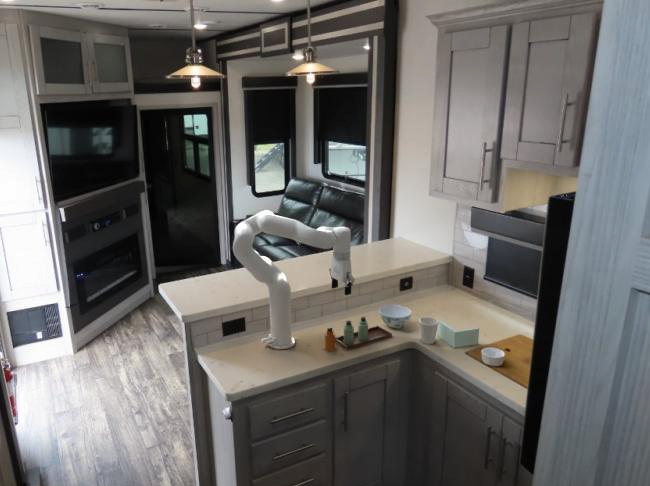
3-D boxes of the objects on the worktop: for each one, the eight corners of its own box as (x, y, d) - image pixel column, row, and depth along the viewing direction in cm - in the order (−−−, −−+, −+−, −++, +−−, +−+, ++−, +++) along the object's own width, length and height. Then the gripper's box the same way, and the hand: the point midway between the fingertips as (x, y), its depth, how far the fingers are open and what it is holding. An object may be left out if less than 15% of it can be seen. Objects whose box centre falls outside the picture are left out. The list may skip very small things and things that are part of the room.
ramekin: (477, 362, 209) (477, 352, 208) (485, 354, 215) (486, 345, 214) (499, 369, 203) (500, 359, 202) (507, 361, 209) (508, 351, 208)
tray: (346, 350, 224) (346, 346, 223) (333, 341, 233) (333, 337, 232) (391, 337, 234) (392, 333, 234) (377, 329, 243) (377, 325, 243)
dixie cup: (435, 346, 224) (436, 326, 221) (416, 342, 228) (416, 322, 225) (439, 339, 230) (440, 318, 228) (421, 335, 235) (422, 315, 232)
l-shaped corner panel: (478, 344, 224) (479, 328, 222) (453, 347, 222) (454, 332, 220) (461, 332, 236) (462, 317, 234) (438, 336, 233) (439, 321, 231)
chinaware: (379, 331, 240) (380, 316, 238) (378, 318, 254) (378, 304, 252) (412, 333, 237) (413, 317, 235) (409, 319, 252) (409, 305, 250)
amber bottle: (328, 352, 223) (328, 330, 220) (322, 348, 227) (322, 326, 224) (337, 349, 225) (337, 328, 222) (331, 345, 229) (331, 324, 226)
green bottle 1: (347, 346, 227) (347, 324, 224) (341, 341, 231) (341, 320, 228) (355, 343, 229) (355, 322, 226) (349, 339, 233) (349, 318, 230)
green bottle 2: (361, 341, 230) (362, 320, 228) (355, 337, 234) (355, 316, 232) (370, 339, 232) (370, 318, 230) (363, 335, 236) (364, 314, 234)
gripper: (323, 251, 230) (323, 286, 235) (346, 261, 215) (346, 298, 220) (336, 248, 234) (336, 283, 238) (360, 258, 219) (360, 295, 223)
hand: (341, 291), depth 229 cm, fingers open, 9 cm apart
